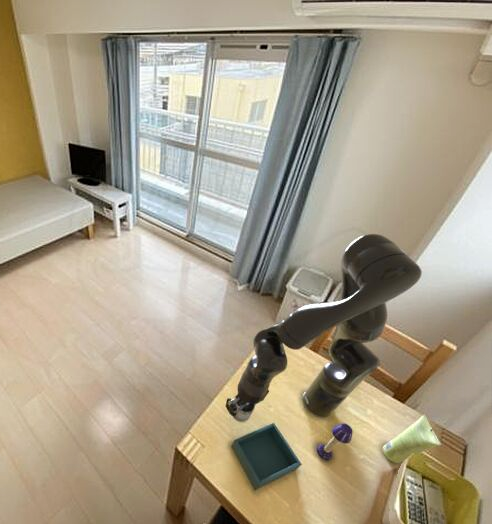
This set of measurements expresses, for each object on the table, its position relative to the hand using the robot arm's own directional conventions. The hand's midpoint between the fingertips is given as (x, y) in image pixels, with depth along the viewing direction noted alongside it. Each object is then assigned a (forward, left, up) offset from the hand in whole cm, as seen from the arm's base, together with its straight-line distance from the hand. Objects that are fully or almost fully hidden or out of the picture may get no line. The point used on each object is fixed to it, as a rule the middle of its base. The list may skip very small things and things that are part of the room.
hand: (241, 409), depth 96 cm
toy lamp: (-19, +18, -6) cm, 27 cm away
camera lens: (0, 0, -3) cm, 3 cm away
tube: (-38, +26, -6) cm, 46 cm away
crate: (0, +13, -5) cm, 14 cm away
